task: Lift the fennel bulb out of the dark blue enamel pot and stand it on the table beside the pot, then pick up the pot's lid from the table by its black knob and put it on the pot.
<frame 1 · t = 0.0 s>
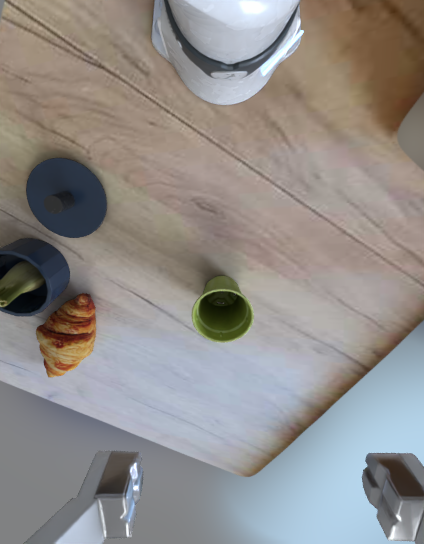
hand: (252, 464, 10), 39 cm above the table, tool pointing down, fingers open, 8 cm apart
plant pot: (221, 290, 51), on the table
lid: (67, 199, 44), point 1 cm above the table
croissant: (72, 330, 55), on the table
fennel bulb: (36, 269, 49), resting on pot
pot: (37, 269, 50), on the table
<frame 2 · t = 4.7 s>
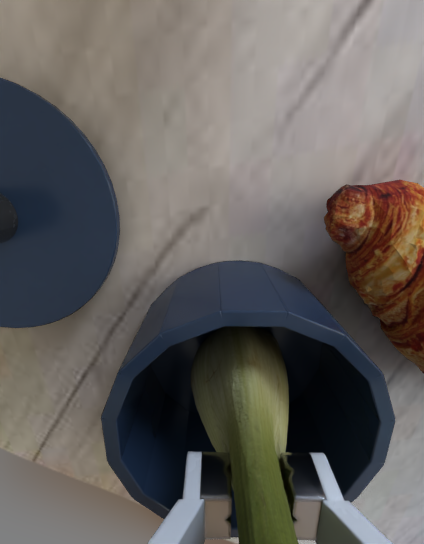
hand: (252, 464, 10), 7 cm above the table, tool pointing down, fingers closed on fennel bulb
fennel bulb: (234, 351, 17), resting on pot, touching gripper
pot: (235, 350, 17), on the table
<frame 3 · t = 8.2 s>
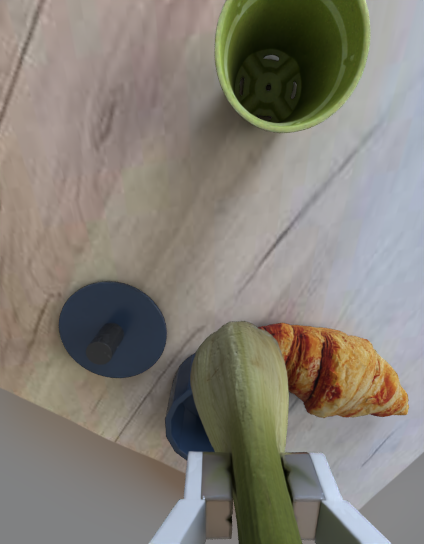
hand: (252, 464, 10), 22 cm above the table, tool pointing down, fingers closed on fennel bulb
plant pot: (266, 91, 26), on the table
lid: (114, 330, 32), point 1 cm above the table
croissant: (325, 361, 34), on the table
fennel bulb: (234, 351, 17), point 15 cm above the table, touching gripper
pot: (219, 386, 35), on the table
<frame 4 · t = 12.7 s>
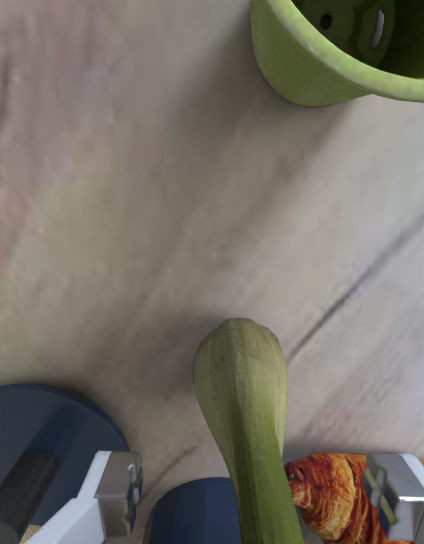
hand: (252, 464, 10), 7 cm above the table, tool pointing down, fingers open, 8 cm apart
plant pot: (319, 33, 13), on the table
lid: (43, 457, 19), point 1 cm above the table
croissant: (393, 496, 21), on the table
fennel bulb: (235, 348, 17), on the table
pot: (219, 530, 22), on the table
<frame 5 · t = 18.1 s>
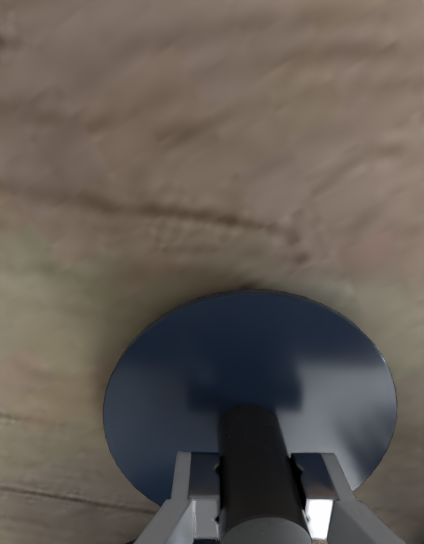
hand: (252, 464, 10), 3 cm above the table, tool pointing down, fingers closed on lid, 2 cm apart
lid: (247, 419, 12), point 1 cm above the table, touching gripper
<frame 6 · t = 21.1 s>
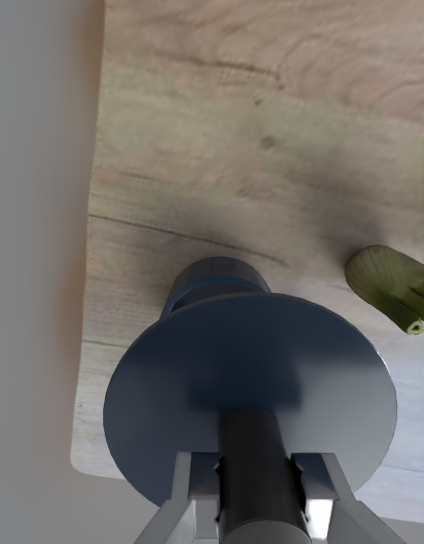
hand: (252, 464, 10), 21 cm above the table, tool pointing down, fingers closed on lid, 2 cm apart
lid: (247, 421, 12), point 19 cm above the table, touching gripper
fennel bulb: (364, 263, 30), on the table
pot: (219, 305, 32), on the table
when the fingers open (8 cm above the table, at t = 24.6 s): lid stays where it is, resting on pot.
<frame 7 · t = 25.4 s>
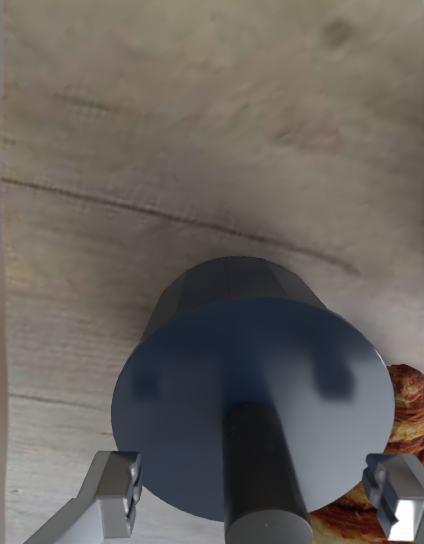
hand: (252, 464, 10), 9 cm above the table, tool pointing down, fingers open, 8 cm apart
lid: (250, 418, 13), point 6 cm above the table, touching pot
croissant: (333, 462, 22), on the table
pot: (236, 339, 19), on the table
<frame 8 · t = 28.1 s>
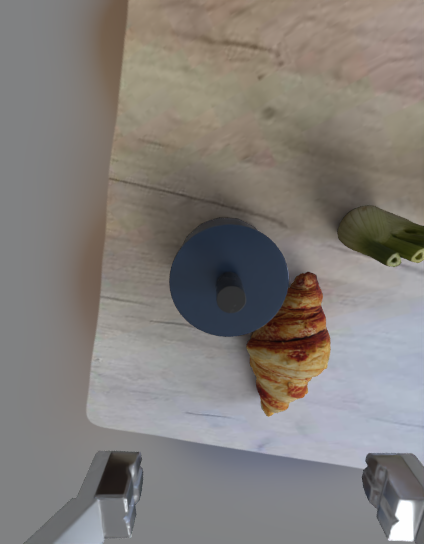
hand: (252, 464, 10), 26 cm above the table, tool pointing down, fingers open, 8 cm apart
lid: (228, 282, 29), point 6 cm above the table, touching pot
croissant: (281, 340, 39), on the table
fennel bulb: (355, 225, 34), on the table
pot: (224, 263, 35), on the table
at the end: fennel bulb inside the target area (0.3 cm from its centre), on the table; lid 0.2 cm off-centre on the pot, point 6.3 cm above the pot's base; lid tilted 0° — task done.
